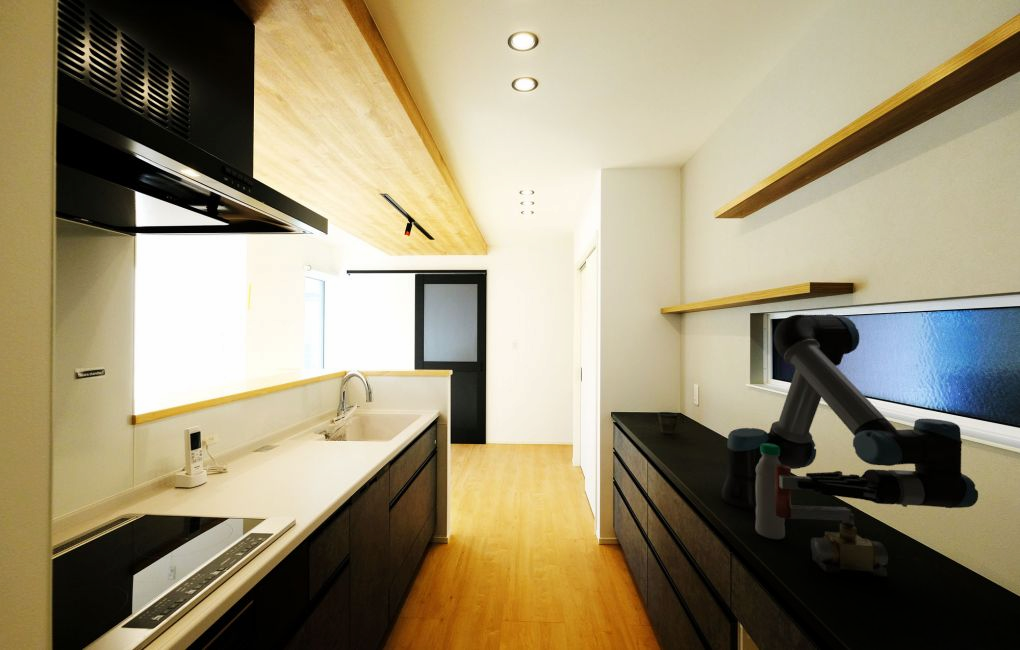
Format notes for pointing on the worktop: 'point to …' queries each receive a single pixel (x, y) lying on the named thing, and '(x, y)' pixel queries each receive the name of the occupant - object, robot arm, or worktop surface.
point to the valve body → (849, 552)
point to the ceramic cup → (668, 421)
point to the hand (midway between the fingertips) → (780, 481)
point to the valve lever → (805, 512)
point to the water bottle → (767, 494)
